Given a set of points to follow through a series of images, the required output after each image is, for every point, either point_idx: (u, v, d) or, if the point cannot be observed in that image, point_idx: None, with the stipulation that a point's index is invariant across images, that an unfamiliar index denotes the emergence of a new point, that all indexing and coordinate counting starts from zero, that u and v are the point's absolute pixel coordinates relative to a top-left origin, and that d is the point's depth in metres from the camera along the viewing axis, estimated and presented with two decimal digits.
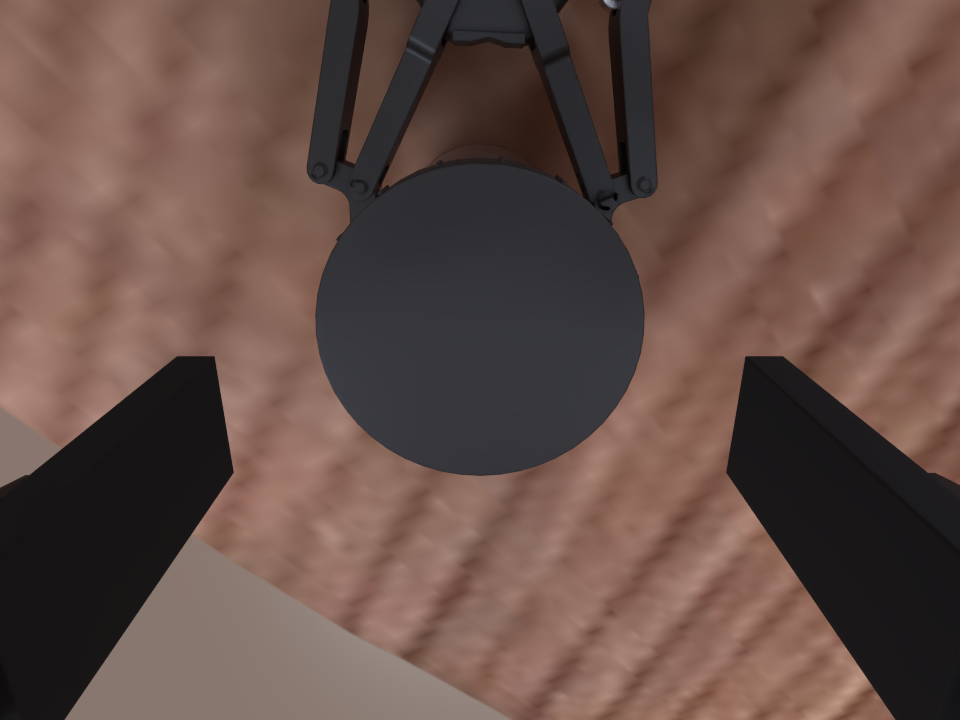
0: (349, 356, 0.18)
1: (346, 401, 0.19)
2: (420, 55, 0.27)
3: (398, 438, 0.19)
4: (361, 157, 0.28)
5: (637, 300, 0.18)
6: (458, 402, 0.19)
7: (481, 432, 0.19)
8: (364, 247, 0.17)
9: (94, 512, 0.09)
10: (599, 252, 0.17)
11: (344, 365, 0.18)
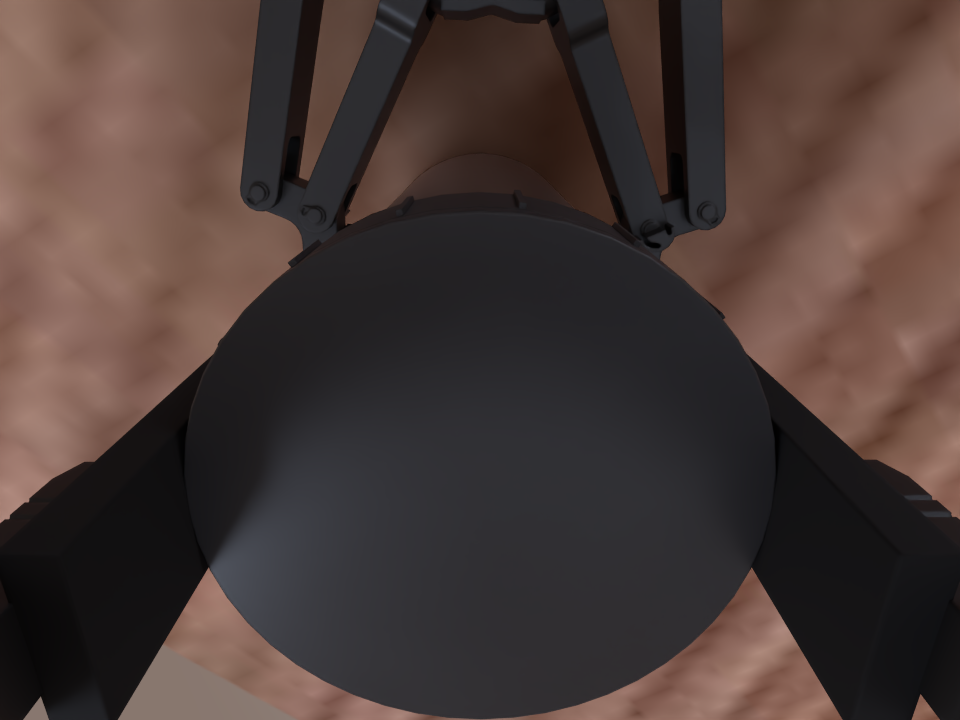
0: (249, 543, 0.10)
1: (249, 611, 0.11)
2: (395, 31, 0.19)
3: (341, 666, 0.11)
4: (315, 174, 0.20)
5: (765, 453, 0.10)
6: (442, 613, 0.11)
7: (482, 658, 0.11)
8: (264, 363, 0.09)
9: (157, 496, 0.09)
10: (702, 372, 0.09)
11: (241, 557, 0.10)
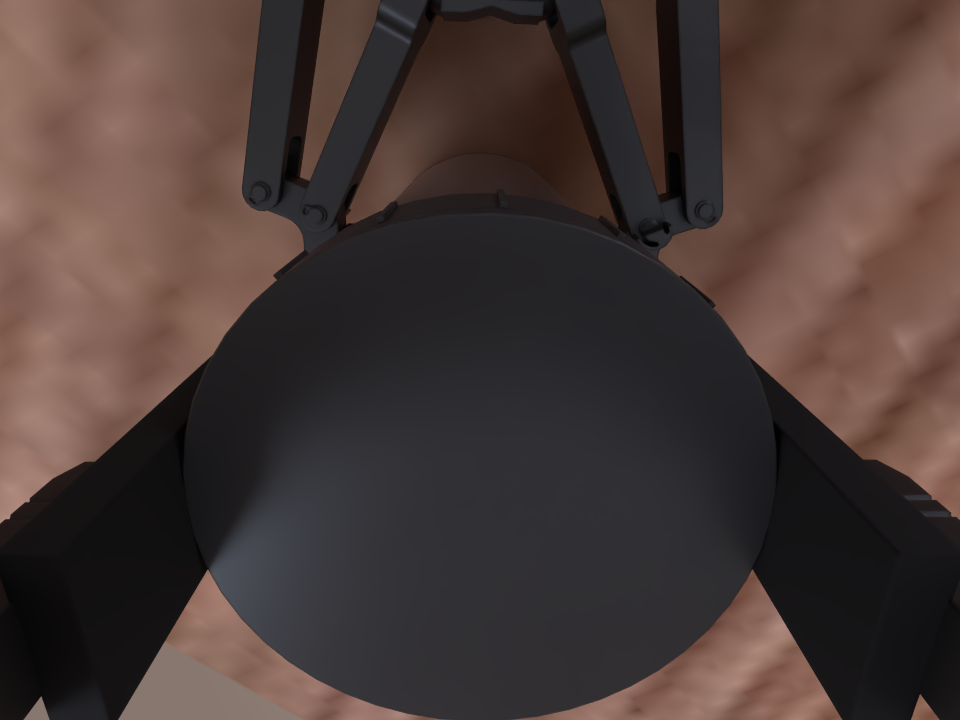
0: (509, 687, 0.11)
1: (587, 697, 0.12)
2: (396, 32, 0.19)
3: (667, 636, 0.11)
4: (316, 174, 0.20)
5: (416, 230, 0.08)
6: (609, 547, 0.10)
7: (676, 514, 0.10)
8: (332, 655, 0.11)
9: (158, 496, 0.09)
10: (319, 310, 0.09)
11: (524, 694, 0.11)
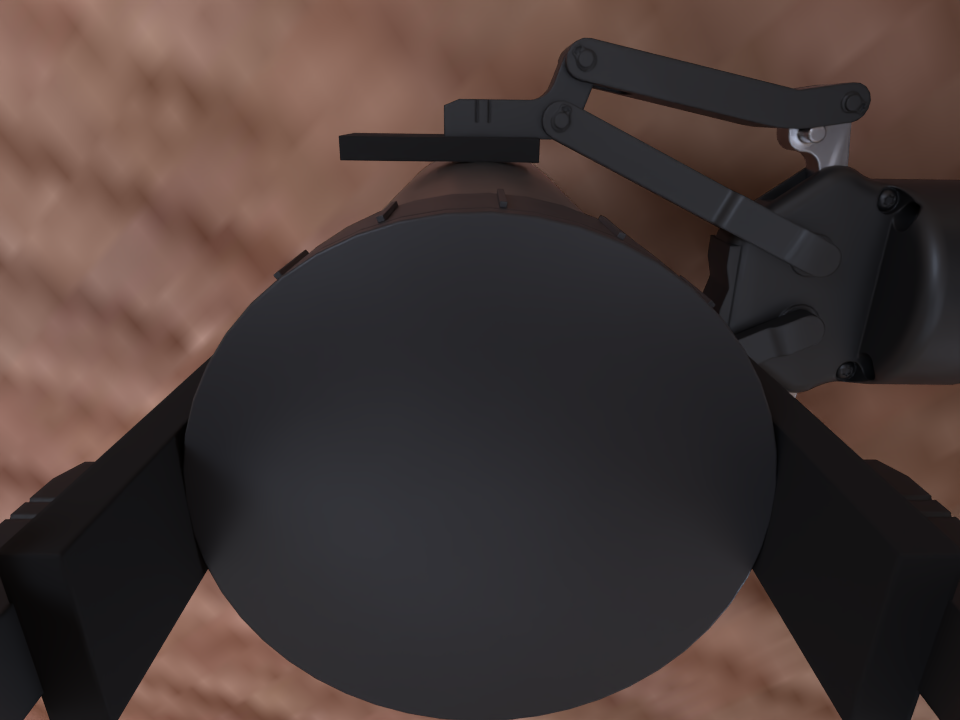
0: (509, 686, 0.11)
1: (587, 696, 0.12)
2: (720, 208, 0.21)
3: (667, 635, 0.11)
4: (600, 123, 0.20)
5: (416, 230, 0.08)
6: (609, 547, 0.10)
7: (676, 514, 0.10)
8: (332, 655, 0.11)
9: (157, 496, 0.09)
10: (319, 309, 0.09)
11: (524, 694, 0.11)
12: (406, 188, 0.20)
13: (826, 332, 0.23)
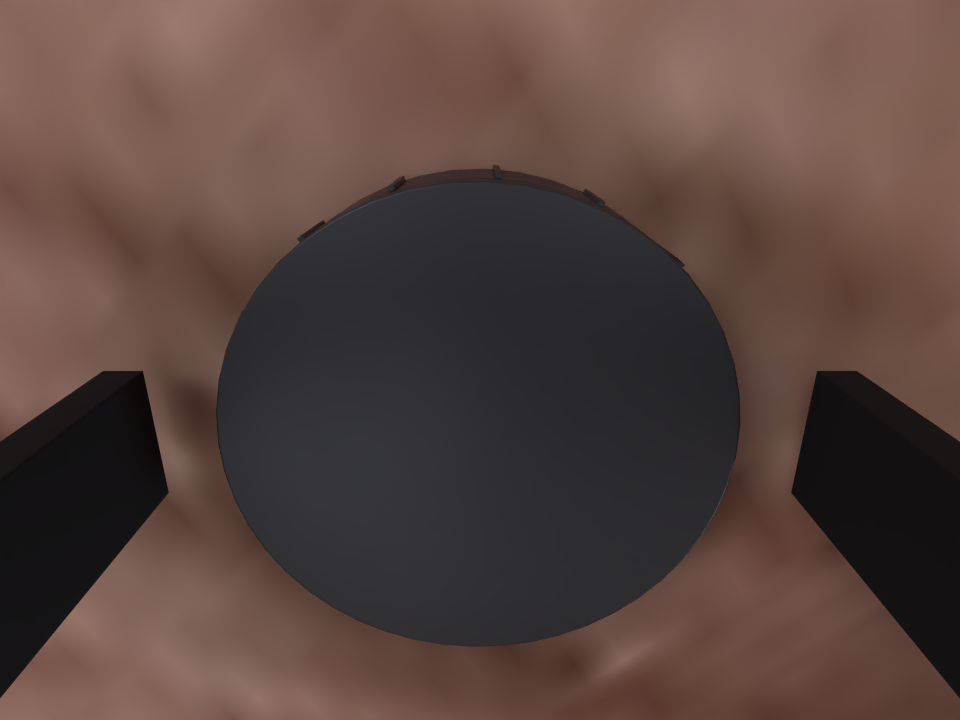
0: (505, 614, 0.13)
1: (574, 623, 0.13)
2: None
3: (645, 565, 0.12)
4: None
5: (422, 197, 0.10)
6: (592, 483, 0.12)
7: (652, 452, 0.11)
8: (347, 584, 0.12)
9: None
10: (338, 267, 0.10)
11: (518, 620, 0.13)
12: None
13: None
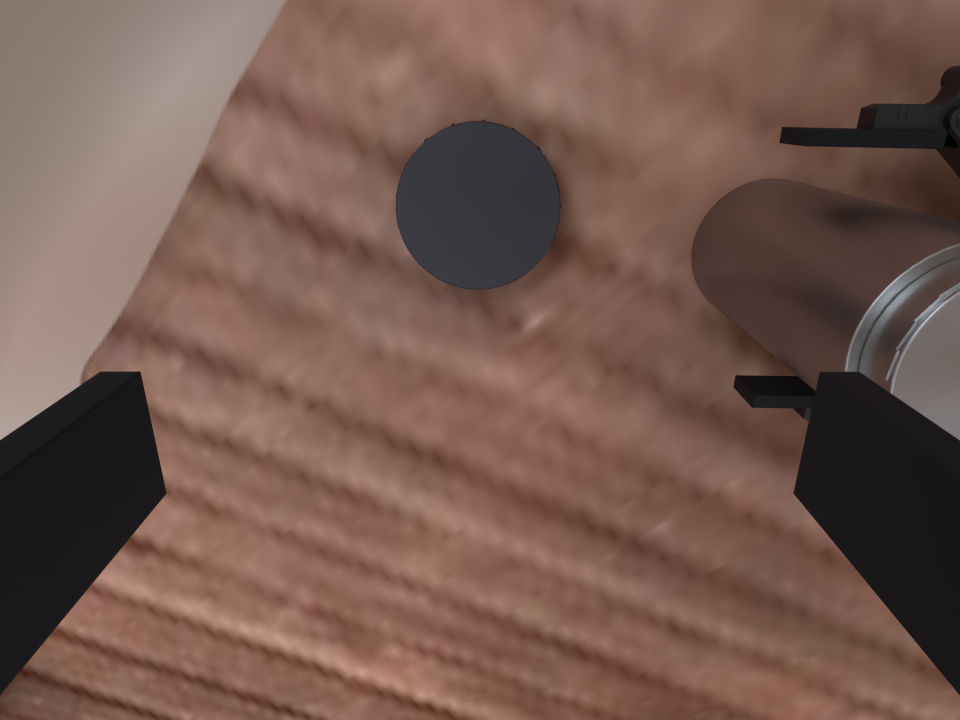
0: (487, 275, 0.37)
1: (511, 279, 0.37)
2: None
3: (534, 255, 0.37)
4: None
5: (462, 126, 0.34)
6: (514, 222, 0.36)
7: (533, 211, 0.36)
8: (433, 262, 0.37)
9: None
10: (437, 148, 0.35)
11: (491, 277, 0.37)
12: (804, 215, 0.29)
13: None
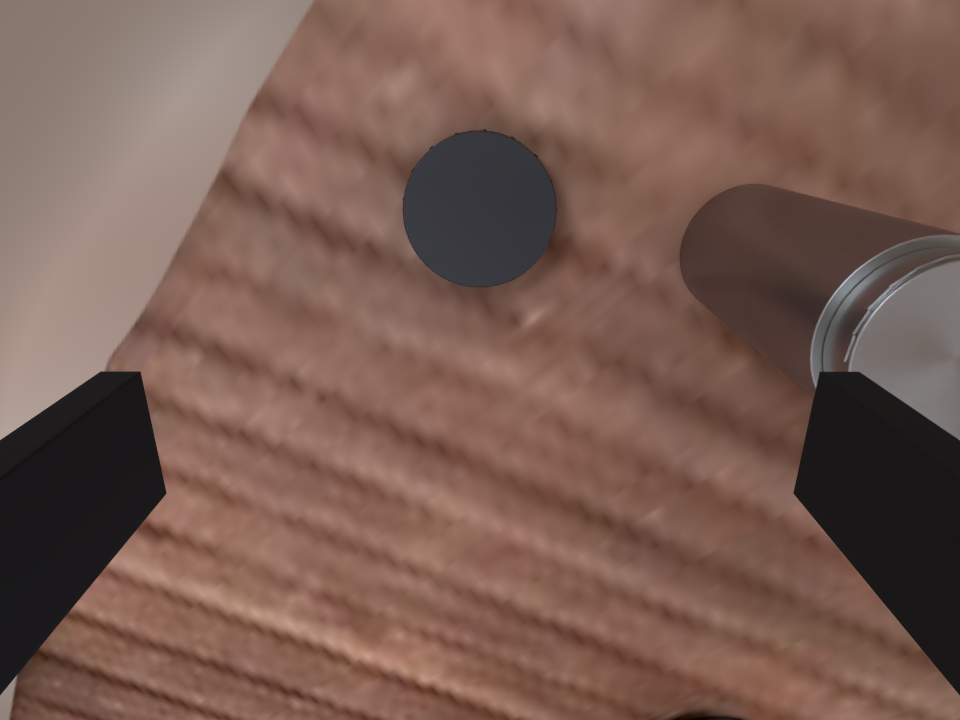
0: (488, 273, 0.40)
1: (510, 277, 0.40)
2: None
3: (531, 255, 0.39)
4: None
5: (464, 135, 0.37)
6: (513, 224, 0.39)
7: (530, 213, 0.38)
8: (438, 262, 0.40)
9: None
10: (441, 155, 0.37)
11: (492, 276, 0.40)
12: (779, 216, 0.32)
13: None
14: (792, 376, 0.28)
